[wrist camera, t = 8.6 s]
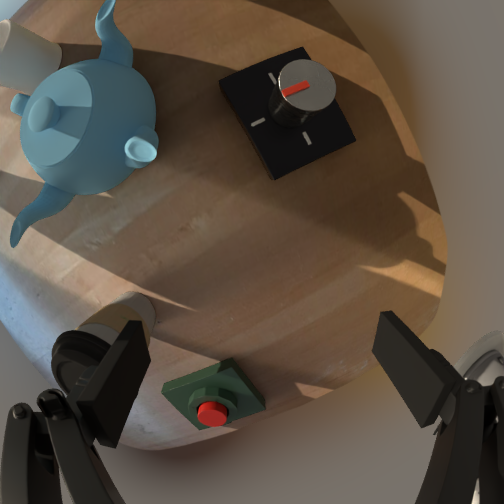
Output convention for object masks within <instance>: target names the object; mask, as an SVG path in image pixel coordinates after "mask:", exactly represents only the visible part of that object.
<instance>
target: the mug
mask: <svg viewBox="0 0 504 504" xmlns="http://www.w3.org/2000/svg"><path fill="white" fill-rule="evenodd" d="M61 59H62V50H61V47H60V46H59V45H58V44H56V43H52V42H50V41H48V40H46V39H44V38H42V37H41V36H39V35H37V34H35V33H33V32H32V31H30V30H28V29H26V28H24V27H22V26H20V25H18V24H16V23H15V22H13V21H11V20H8V19H6V20H3V21H1V22H0V86H3V87H7V88H11V89H15V90H19V91H22V92H23V93H25V94H27V95H32V94H33V92H34V91H35V89H36V88H37V87H38V86H39V84H40V83H41V82H42V81H43V80H45V79H46V78H47V77H48V76H50V75H51V74H53V73H54V72H56V71H58V68H59V66H60V63H61Z"/></svg>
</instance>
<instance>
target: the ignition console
mask: <svg viewBox="0 0 504 504" xmlns="http://www.w3.org/2000/svg"><path fill="white" fill-rule="evenodd" d="M161 393H162V394H163V395H164V396H165V397H166V399H167V400H168V401H169V402H170V403H171V404H172V405H173V406H174V407H175V408H176V409H177V410H178V411H179V412H180V413H181V414H183V415H184V416H185V417H186V418H187V419H188V420H189V421H190V422H191V423H192V424H193V425H194V426H195V427H196V428H198V429H199V430H202V429H206V428H210V427H211V426H207V425H204V424H202V423H201V422H200V421H199V419H198V410H199V406H200V405H201V404H202V403H204V402H207V401H213V402H218V403H221V404H223V405H224V406H225V407H226V409H227V420H226V422H225V423H224V424H223V425H225V424H229V423H231V422H232V421H234V420H237V419H240V418H243V417H246V416H249V415H252V414H255V413H257V412H260V411H263V410H266V405H265V399H264V398H263V397H262V395H261V394H260V393H259V392H258V390H257V389H256V388H255V387H254V385H253V384H252V383H251V381H250V380H249V379H248V378H247V376H246V375H245V374H244V372H243V371H242V370H241V368H240V367H239V366H238V364H237V363H236V362H235V360H234V359H233V358H229V359H227V360H224V361H222V362H219V363H217V364H215V365H212V366H210V367H207V368H204V369H202V370H199V371H197V372H194V373H191V374H189V375H186V376H183V377H181V378H178V379H175V380H172V381H170V382H167V383H164V385H163V388H162V391H161ZM221 426H222V425H221Z"/></svg>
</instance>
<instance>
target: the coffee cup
mask: <svg viewBox="0 0 504 504" xmlns="http://www.w3.org/2000/svg"><path fill="white" fill-rule="evenodd" d="M155 319H156V315H155V310H154V308H153V306H152V304H151V302H150V301H149V300H148V299H147V298H146V297H145V296H144V295H142V294H140V293H137V292H126V293H124V294H122V295H120V296H119V297H117V298H116V299H115V300H114V301H112V302H111V303H110V304H108V305H106V306H104V307H102V308H101V309H100V310H99V311H97V312H96V313H95V314H93V315H92V316H91V317H90V318H88V319H87V320H86V321H85V322H83V323H82V324H81V325H80V326H79V327H77V328H76V329H75V330H71V331H66V332H64V333H62V334H61V335H60V336H59V337H58V338H57V340H56V342H55V344H54V345H53V348H52V361H51V368H52V372H53V375H54V378H55V380H56V382H57V383H58V385H59V386H60V388H61V389H62V390H63V391H64V392H65V393H66V395H68V394H69V393H70V391H71V390H72V388H73V386H74V385H76V382H77V380H78V379H79V377H80V376H81V375H82V373H83V372H84V370H86V369H87V368H88V367H90V366H91V365H94V366H99V364H100V362H101V361H102V359H103V358H104V356H105V355H106V353H107V352H108V350H109V349H110V347H111V346H112V344H113V343H114V341H115V340H116V338H117V337H118V335H119V334H120V332H121V331H122V329H123V328H124V327H125V325H126V324H127V322H128V321H129V320H141V321H142V324H143V329H144V334H145V338H146V342H147V347H149V344H150V336H151V333H152V330H153V326H154V323H155ZM138 391H139V390H138ZM137 395H138V393H137ZM137 395H136V397H137ZM135 399H136V398H135Z"/></svg>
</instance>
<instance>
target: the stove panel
mask: <svg viewBox="0 0 504 504" xmlns="http://www.w3.org/2000/svg"><path fill="white" fill-rule="evenodd" d="M300 59H306V60H311V58H310V57H309V55H308V54H307V52H306V51H305V49H304V48H303V47H300V48H297V49H294V50H291V51H288V52H285V53H283V54H280V55H277V56H274V57H272V58H269V59H267V60H264V61H262V62H259V63H257V64H254V65H252V66H250V67H247V68H245V69H243V70H240V71H238V72H236V73H234V74H232V75H230V76H227V77H225V78H223V79H221V80H219V81H218V83H219V87H220V90H221V92H222V93H223V95H224V97H225V98H226V100H227V102H228V104H229V105H230V107H231V109H232V110H233V112H234V114H235V116H236V117H237V119H238V121H239V123H240V124H241V126H242V128H243V130H244V131H245V133H246V135H247V137H248V138H249V140H250V142H251V144H252V146H253V147H254V149H255V151H256V153H257V155H258V157H259V158H260V160H261V162H262V164H263V166H264V168H265V169H266V171H267V173H268V175H269V177H270V179H271V180H276V179H278V178H280V177H282V176H284V175H286V174H288V173H290V172H292V171H294V170H296V169H298V168H300V167H302V166H304V165H306V164H308V163H310V162H313V161H315V160H317V159H319V158H321V157H323V156H325V155H327V154H329V153H331V152H333V151H336V150H338V149H340V148H342V147H344V146H346V145H349V144H351V143H353V142H355V141H356V138H355V136H354V134H353V132H352V130H351V128H350V126H349V124H348V122H347V120H346V118H345V116H344V115H343V113H342V111H341V109H340V107H339V105H338V103H337V102H336V100H335V98H334V99H333V101H332V102H331V104H330V105H328V106H327V107H326V108H324V109H323V110H322V111H320V112H319V113H318V114H316V115H315V116H314V117H312V118H311V119H310V120H308V121H307V122H306V123H305V124H303V125H301V126H299V127H296V128H288V127H284V126H281V125H279V124H278V123H276V122H275V121H274V120H273V119H272V117H271V115H270V113H269V109H268V103H269V100H270V97H271V95H272V92H273V90H274V87H275V85H276V82H277V80H278V77H279V75H280V72H281V71H282V69H283V68H284V67H285V66H286V65H287V64H288V63H290V62H292V61H295V60H300Z"/></svg>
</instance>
